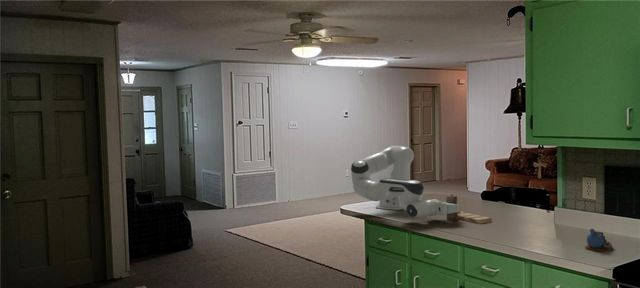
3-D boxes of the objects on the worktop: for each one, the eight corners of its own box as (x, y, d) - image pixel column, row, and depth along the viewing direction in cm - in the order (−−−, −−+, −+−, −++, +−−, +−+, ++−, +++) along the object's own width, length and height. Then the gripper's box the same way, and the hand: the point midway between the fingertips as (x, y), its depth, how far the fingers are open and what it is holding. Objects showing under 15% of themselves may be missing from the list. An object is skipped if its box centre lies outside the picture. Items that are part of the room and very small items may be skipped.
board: (491, 221, 285) (491, 217, 285) (479, 223, 280) (479, 220, 280) (459, 214, 306) (459, 211, 306) (447, 216, 301) (447, 213, 301)
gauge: (451, 220, 292) (451, 195, 291) (446, 219, 295) (446, 194, 294) (462, 218, 295) (462, 193, 295) (457, 217, 299) (457, 192, 298)
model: (602, 253, 218) (602, 231, 218) (580, 248, 226) (580, 227, 225) (617, 248, 225) (617, 226, 224) (596, 244, 232) (596, 223, 232)
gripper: (421, 210, 297) (440, 207, 303) (446, 216, 279) (466, 212, 285) (421, 199, 296) (439, 196, 303) (446, 204, 278) (465, 201, 285)
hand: (452, 204), depth 294 cm, fingers open, 8 cm apart
